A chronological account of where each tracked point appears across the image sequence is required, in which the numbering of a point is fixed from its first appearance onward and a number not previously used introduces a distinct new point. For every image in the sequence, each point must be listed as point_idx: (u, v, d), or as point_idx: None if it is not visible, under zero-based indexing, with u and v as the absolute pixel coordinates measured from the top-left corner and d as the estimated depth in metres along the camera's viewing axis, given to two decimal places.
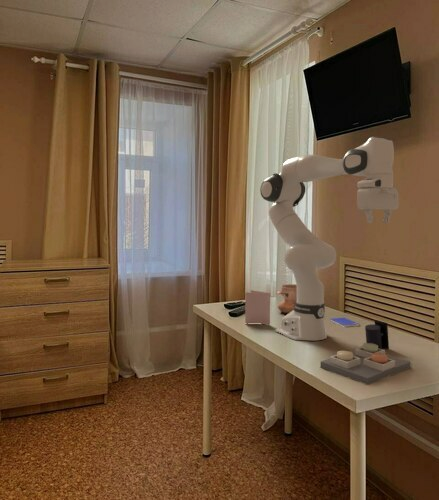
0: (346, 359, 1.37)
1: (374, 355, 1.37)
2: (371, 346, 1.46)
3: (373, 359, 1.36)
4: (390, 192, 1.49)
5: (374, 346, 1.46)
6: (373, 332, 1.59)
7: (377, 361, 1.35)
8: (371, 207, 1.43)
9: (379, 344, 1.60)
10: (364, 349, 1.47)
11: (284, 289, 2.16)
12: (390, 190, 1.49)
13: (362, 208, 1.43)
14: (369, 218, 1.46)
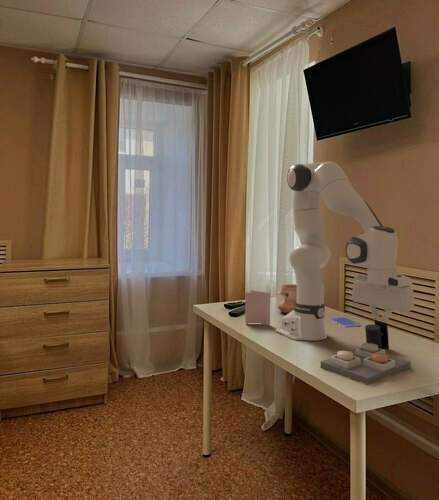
0: (346, 359, 1.37)
1: (374, 355, 1.37)
2: (371, 346, 1.46)
3: (373, 359, 1.36)
4: None
5: (374, 346, 1.46)
6: (373, 332, 1.59)
7: (377, 361, 1.35)
8: None
9: (379, 344, 1.60)
10: (364, 349, 1.47)
11: (284, 289, 2.16)
12: None
13: (409, 310, 1.28)
14: (387, 316, 1.34)
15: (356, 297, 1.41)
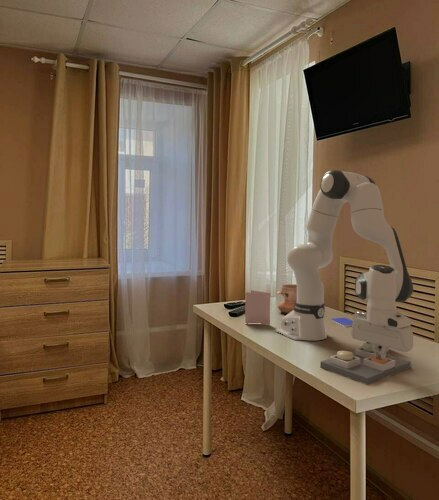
0: (346, 359, 1.37)
1: (374, 358, 1.37)
2: (371, 346, 1.46)
3: None
4: None
5: None
6: None
7: None
8: None
9: None
10: (364, 349, 1.47)
11: (284, 289, 2.16)
12: None
13: (409, 350, 1.29)
14: (384, 354, 1.36)
15: (356, 335, 1.41)
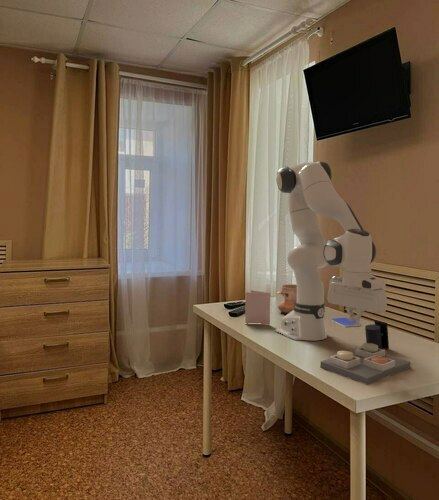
0: (346, 359, 1.37)
1: (374, 359, 1.37)
2: (371, 346, 1.46)
3: None
4: None
5: (374, 346, 1.46)
6: (373, 332, 1.59)
7: None
8: None
9: (379, 344, 1.60)
10: (364, 349, 1.47)
11: (284, 289, 2.16)
12: None
13: (382, 312, 1.30)
14: (359, 317, 1.37)
15: (332, 299, 1.42)
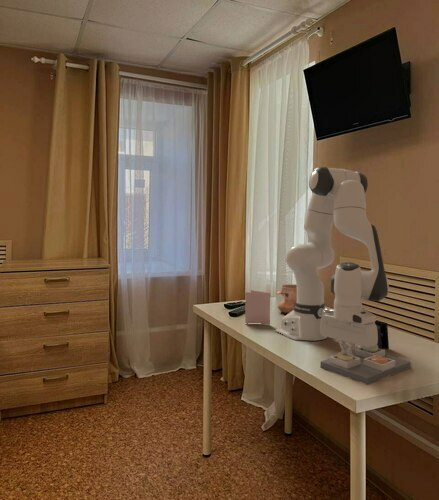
0: (346, 360, 1.37)
1: (374, 359, 1.37)
2: None
3: None
4: None
5: None
6: None
7: None
8: None
9: (379, 344, 1.60)
10: (364, 349, 1.47)
11: (284, 289, 2.16)
12: None
13: (373, 346, 1.31)
14: (351, 350, 1.38)
15: (324, 331, 1.44)
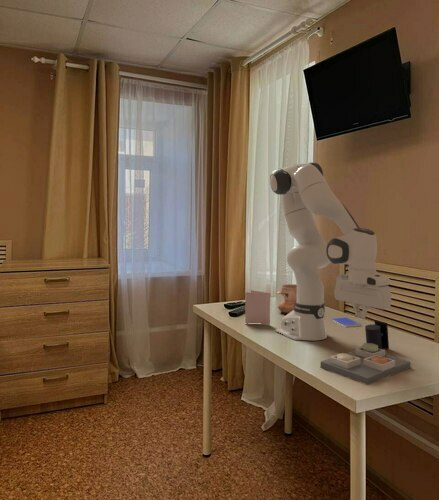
0: None
1: (374, 359, 1.37)
2: (371, 346, 1.46)
3: None
4: None
5: (374, 346, 1.46)
6: (373, 332, 1.59)
7: None
8: None
9: (379, 344, 1.60)
10: (364, 349, 1.47)
11: (284, 289, 2.16)
12: None
13: (386, 308, 1.35)
14: (364, 313, 1.42)
15: (339, 295, 1.48)
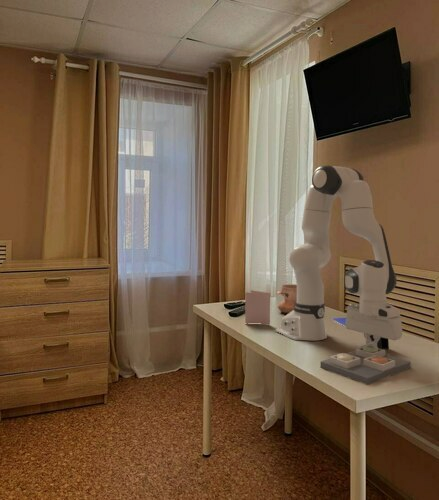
0: None
1: (374, 359, 1.37)
2: (371, 348, 1.46)
3: None
4: None
5: (374, 348, 1.46)
6: None
7: None
8: None
9: (379, 344, 1.60)
10: None
11: (284, 289, 2.16)
12: None
13: (398, 338, 1.39)
14: (376, 343, 1.46)
15: (350, 325, 1.52)
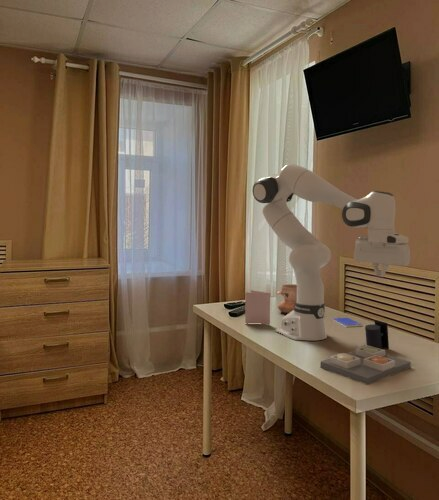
0: None
1: (374, 359, 1.37)
2: (371, 350, 1.46)
3: None
4: None
5: (374, 349, 1.46)
6: (373, 332, 1.59)
7: None
8: None
9: (379, 344, 1.60)
10: None
11: (284, 289, 2.16)
12: None
13: (406, 264, 1.42)
14: (384, 272, 1.48)
15: (358, 257, 1.54)
